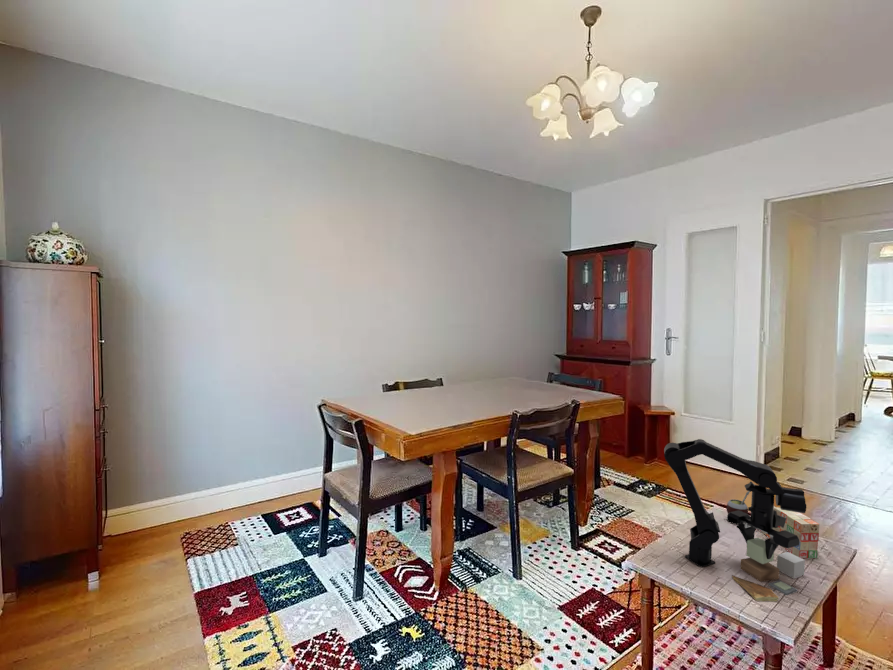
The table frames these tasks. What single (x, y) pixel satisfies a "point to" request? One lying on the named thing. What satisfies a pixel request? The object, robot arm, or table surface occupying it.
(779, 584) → the card
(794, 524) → the stack of blocks
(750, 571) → the walnut block
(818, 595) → the table surface
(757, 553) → the sage cube
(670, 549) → the table surface
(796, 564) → the grey cube
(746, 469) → the robot arm
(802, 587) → the table surface
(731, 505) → the mate gourd
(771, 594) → the shard
